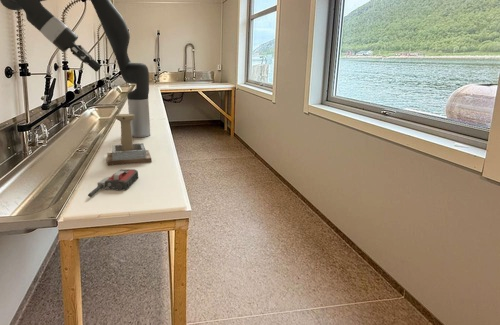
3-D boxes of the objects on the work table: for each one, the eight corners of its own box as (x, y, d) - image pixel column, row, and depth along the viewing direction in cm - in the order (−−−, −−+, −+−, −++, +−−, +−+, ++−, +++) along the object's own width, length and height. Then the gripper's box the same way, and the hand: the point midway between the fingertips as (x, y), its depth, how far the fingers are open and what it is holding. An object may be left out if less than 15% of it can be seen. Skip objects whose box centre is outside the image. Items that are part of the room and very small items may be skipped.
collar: (112, 152, 143) (111, 145, 142) (143, 150, 147) (143, 143, 146) (112, 160, 133) (112, 152, 132) (146, 158, 136) (145, 150, 135)
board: (107, 156, 143) (107, 152, 143) (148, 153, 148) (148, 150, 147) (107, 165, 132) (107, 161, 132) (151, 162, 137) (151, 158, 137)
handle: (135, 157, 138) (132, 116, 133) (117, 157, 137) (114, 116, 133) (138, 153, 142) (135, 114, 138) (120, 153, 142) (117, 113, 138)
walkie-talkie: (113, 176, 122) (85, 200, 103) (112, 163, 121) (83, 185, 101) (140, 177, 122) (117, 201, 102) (139, 164, 120) (116, 186, 101)
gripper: (64, 25, 121) (106, 62, 128) (68, 27, 134) (106, 60, 141) (48, 42, 121) (91, 78, 128) (54, 42, 134) (92, 75, 141)
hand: (99, 69), depth 135 cm, fingers open, 8 cm apart
